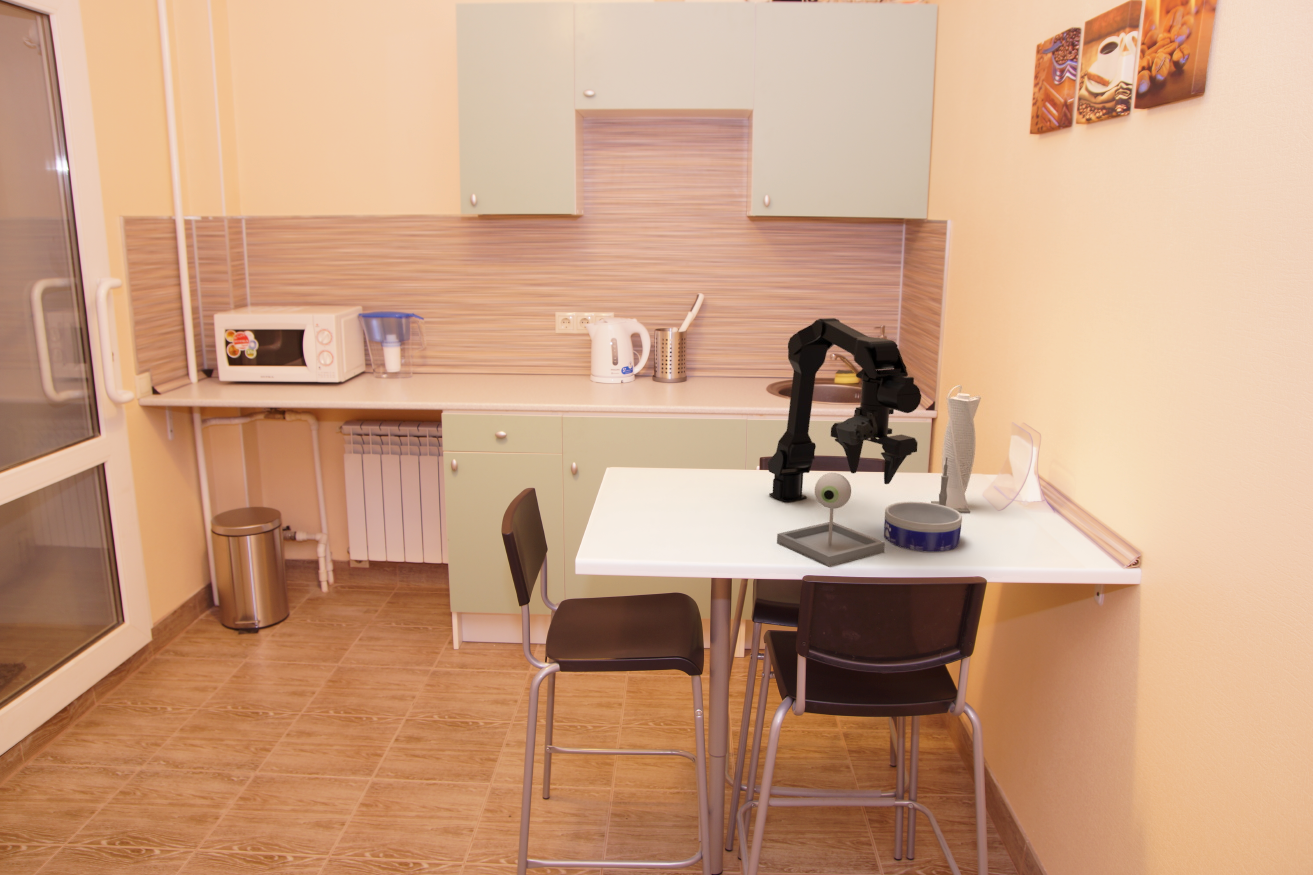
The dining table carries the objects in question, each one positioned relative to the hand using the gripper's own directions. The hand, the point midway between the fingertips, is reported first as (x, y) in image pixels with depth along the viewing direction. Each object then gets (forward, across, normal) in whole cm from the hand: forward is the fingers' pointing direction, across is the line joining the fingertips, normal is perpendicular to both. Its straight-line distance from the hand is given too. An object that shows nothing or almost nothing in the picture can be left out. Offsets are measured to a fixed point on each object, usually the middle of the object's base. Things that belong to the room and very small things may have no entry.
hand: (869, 478), depth 185 cm
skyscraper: (+13, -5, +33) cm, 36 cm away
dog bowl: (+13, +6, +10) cm, 18 cm away
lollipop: (+13, 0, -10) cm, 16 cm away
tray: (+13, 0, -10) cm, 16 cm away
